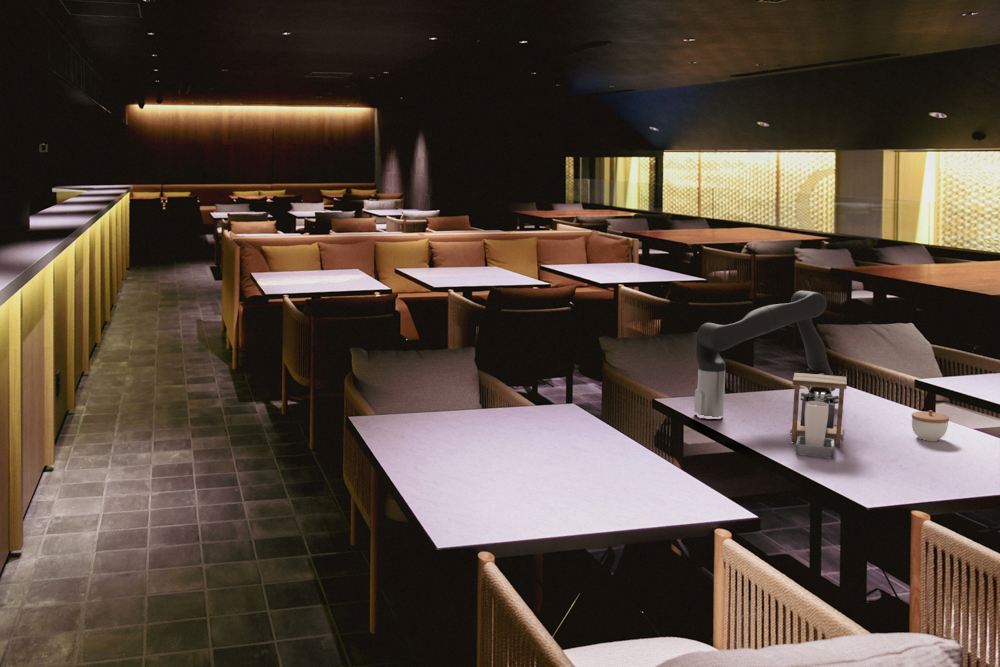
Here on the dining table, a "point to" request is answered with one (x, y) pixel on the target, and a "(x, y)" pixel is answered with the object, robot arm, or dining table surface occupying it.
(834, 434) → the board
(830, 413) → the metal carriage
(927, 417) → the lidded jar
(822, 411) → the drinking glass
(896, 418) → the dining table surface
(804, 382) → the walnut tunnel
